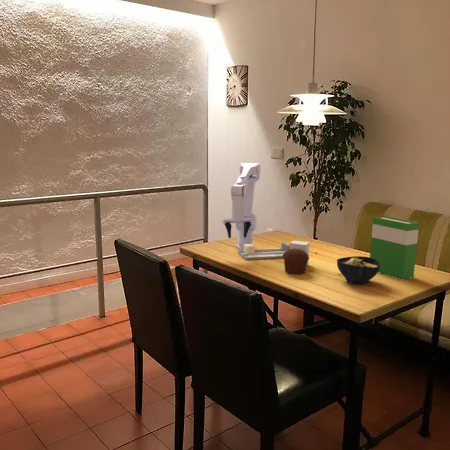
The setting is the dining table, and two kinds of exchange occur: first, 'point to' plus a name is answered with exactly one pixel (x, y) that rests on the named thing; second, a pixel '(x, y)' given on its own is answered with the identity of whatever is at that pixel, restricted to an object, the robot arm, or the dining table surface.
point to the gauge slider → (248, 248)
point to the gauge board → (265, 253)
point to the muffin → (295, 261)
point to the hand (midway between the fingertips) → (237, 237)
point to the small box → (300, 247)
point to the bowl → (358, 269)
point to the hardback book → (394, 246)
